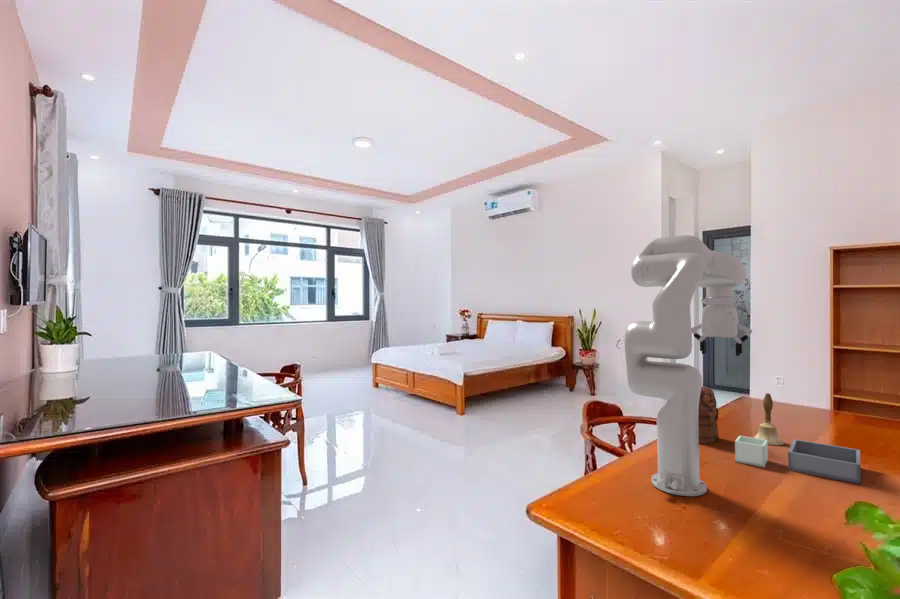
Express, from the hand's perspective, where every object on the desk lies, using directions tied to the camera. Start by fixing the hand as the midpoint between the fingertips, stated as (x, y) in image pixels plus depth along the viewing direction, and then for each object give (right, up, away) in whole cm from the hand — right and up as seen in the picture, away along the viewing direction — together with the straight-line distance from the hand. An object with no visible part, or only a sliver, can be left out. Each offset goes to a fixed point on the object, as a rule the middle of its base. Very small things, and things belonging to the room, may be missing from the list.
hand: (720, 354), depth 143 cm
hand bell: (+17, -29, +2) cm, 34 cm away
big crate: (+15, -29, -22) cm, 39 cm away
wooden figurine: (-2, -30, +5) cm, 30 cm away
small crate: (0, -29, -15) cm, 33 cm away
